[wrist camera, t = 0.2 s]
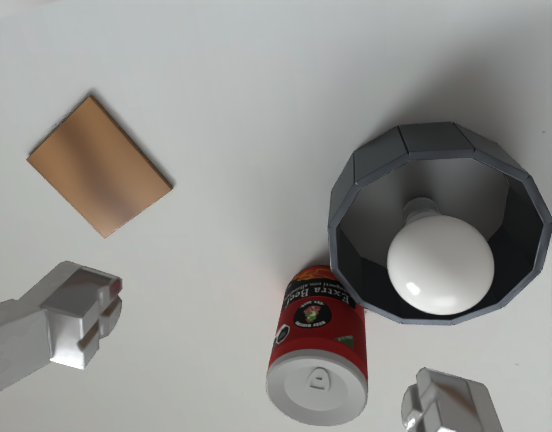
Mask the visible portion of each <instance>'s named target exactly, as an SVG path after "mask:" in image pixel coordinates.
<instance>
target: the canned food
mask: <svg viewBox="0 0 552 432" xmlns="http://www.w3.org/2000/svg"><path fill="white" fill-rule="evenodd" d="M266 392H267V395H268V398H269V399H270V401H271V403H272V404H273V405H274V406H275V407H276V408H277V409H278V410H279V411H280V412H281V413H283V414H284V415H286V416H287V417H289V418H291V419H293V420H295V421H298V422H300V423H304V424H307V425H313V426H336V425H340V424H344V423H347V422H349V421H351V420H353V419H354V418H356V417H357V416H359V415H360V413H361V412H362V411H363V410H364V408H365V406H366V404H367V397H368V395H367V394H368V371H367V353H366V335H365V317H364V307H362V306H360V305H358V304H357V303H356V302H355V301H354V299H353V298H352V297H351V296H350V294H349V293H348V292H347V290H346V289H345V288H344V287H343V285H342V284H341V283H340V281H339V280H338V279H337V278H336V276H335V275H334V274H333V273H332V271H331V269H330V266H314V267H310V268H307V269H305V270H303V271H301V272H300V273H298V274H297V275H296V276H295V277H294V278H293V279H292V281H291V282H290V283H289V285H288V287H287V289H286V292H285V296H284V300H283V305H282V309H281V313H280V318H279V322H278V326H277V331H276V335H275V340H274V344H273V348H272V353H271V357H270V361H269V366H268V371H267V376H266Z"/></svg>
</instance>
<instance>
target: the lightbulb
mask: <svg viewBox="0 0 552 432" xmlns="http://www.w3.org/2000/svg"><path fill="white" fill-rule="evenodd" d="M403 217H404V220H405V224H406V225H405V227H403V228H402V229H401V230H400V231H399V232H398V233H397V235H396V236H395V238H394V239H393V241H392V243H391V245H390V248H389V251H388V256H387V269H388V274H389V278H390V280H391V283H392V285H393V286H394V288H395V290H396V291H397V293H398V294H399V295H400V296H401V297H402V298H403V299H404V300H405V301H406V302H407V303H409V304H410V305H412V306H413V307H415V308H417V309H419V310H421V311H424V312H427V313H431V314H437V315H450V314H456V313H460V312H463V311H465V310H468V309H469V308H471V307H473V306H474V305H476V304H477V303H478V302H479V301H480V300H481V299H482V298H483V297H484V296H485V295H486V293H487V292H488V290H489V288H490V286H491V284H492V281H493V277H494V269H495V268H494V258H493V254H492V251H491V249H490V246H489V244H488V243H487V241H486V240H485V238H484V237H483V236H482V235H481V233H480V232H479V231H478V230H476V229H475V228H474V227H473V226H471V225H470V224H468V223H466V222H464V221H462V220H460V219H457V218H454V217H450V216H444V215H441V214H440V212H439V210H438V207H437V205H436V204H435V202H434V201H432V200H431V199H428V198H424V197H420V198H415V199H413V200H411V201H409V202H408V203H407V204H406V206H405V207H404V210H403Z"/></svg>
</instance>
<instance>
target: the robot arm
mask: <svg viewBox="0 0 552 432" xmlns="http://www.w3.org/2000/svg"><path fill="white" fill-rule="evenodd" d="M121 290H122V279H121V278H120V277H117V276H114V275H111V274H108V273H105V272H102V271H99V270H96V269H93V268H89V267H86V266H82V265H79V264H76V263H73V262H70V261H64V262H61V263H59V264H58V265H57V266H56V267H55V268H54V269H53V270H51V271H50V272H49V273H48V274H47V275H46V276H45V277H44V278H42V279H41V280H40V281H39V282H38V283H37V284H36V285H34V286H33V287H32V288H31V289H30V290H29V291H28V292H27V293H25V294H24V295H23V296H22V297H21V298H20V299H19V300H14V299H10V300H7V301H4V302H1V303H0V391H2V390H3V389H5V388H7V387H9V386H10V385H12V384H14V383H16V382H17V381H19V380H21V379H23V378H24V377H26V376H28V375H30V374H31V373H33V372H35V371H37V370H38V369H40V368H42V367H44V366H45V365H47V364H49V363H50V362H51V361H55V362H59V363H62V364H66V365H70V366H73V367H77V368H81V369H84V368H85V367H86V366H87V364H88V363H89V362H90V360H91V359H92V357H93V356H94V355H95V353H96V352H97V351H98V349H99V339H101V338H104V337H106V336H108V335H109V334H110V333H111V331H112V330H113V329H114V327H115V325H116V323H117V321H118V319H119V317H120V313H121V309H122V300H121V299H120V297H119V296H118V293H119V292H120V291H121ZM416 379H417V383H416V384H414V385H411V386H409V387H408V389H407V391H406V392H405V394H404V397H403V401H402V409H401V415H402V424H403V425H404V426H405V428H406V429H407V431H408V432H503V430H502V427H501V424H500V421H499V419H498V416H497V413H496V411H495V408H494V405H493V403H492V400H491V397H490V394H489V392H488V389H487V388H486V386H485V385H484V384H482V383H479V382H475V381H472V380H468V379H465V378H461V377H458V376H454V375H451V374H447V373H444V372H440V371H437V370H433V369H430V368H426V367H424V368H422V369H420V371H419V372H418V374H417V375H416Z"/></svg>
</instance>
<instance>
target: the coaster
mask: <svg viewBox="0 0 552 432" xmlns="http://www.w3.org/2000/svg"><path fill="white" fill-rule="evenodd" d="M26 160H27V161H28V162H29V163H30V164H31V165H32V166H33V167H34V168H35V169H36V170H37V171H38V172H39V173H40V174H41V175H42V176H43V177H44V178H45V179H46V180H47V181H48V182H49V183H50V184H51V185H52V186H53V187H54V188H55V189H56V190H57V191H58V192H59V193H60V194H61V195H62V196H63V197H64V198H65V199H66V200H67V201H68V202H69V203H70V204H71V205H72V206H73V207H74V208H75V209H76V210H77V211H78V212H79V213H80V214H81V215H82V216H83V217H84V218H85V219H86V220H87V221H88V222H89V223H90V224H91V225H92V226H93V227H94V228H95V229H96V230H97V231H98V232H99V233H100V234H101V235H102V236H103V237H104V238H106V237H107V236H109V235H110V234H111V233H113V232H114V231H116V230H117V229H118V228H120V227H121V226H123V225H124V224H125V223H127V222H128V221H129V220H131V219H132V218H134V217H135V216H136V215H138V214H139V213H141V212H142V211H143V210H145V209H146V208H147V207H149V206H150V205H152V204H153V203H154V202H156V201H157V200H159V199H160V198H161V197H163V196H164V195H165V194H167V193H168V192H170V191H171V190H172V189H173V187H172V186H171V185H170V184H169V183H168V182H167V181H166V179H165V178H164V177H163V176H162V175H161V174H160V173H159V171H158V170H157V169H156V168H155V167H154V166H153V165H152V163H151V162H150V161H149V160H148V159H147V158H146V157H145V155H144V154H143V153H142V152H141V151H140V150H139V149H138V147H137V146H136V145H135V144H134V143H133V142H132V141H131V139H130V138H129V137H128V136H127V135H126V134H125V133H124V132H123V130H122V129H121V128H120V127H119V126H118V125H117V124H116V122H115V121H114V120H113V119H112V118H111V117H110V116H109V114H108V113H107V112H106V111H105V110H104V109H103V108H102V106H101V105H100V104H99V103H98V102H97V101H96V100H95V98H94V97H93V96H89V97H88V98H87V99H86V100H85V101H84V102H83V103H82V104H81V105H80V106H79V107H78V108H77V109H76V110H75V111H74V112H73V113H72V114H71V115H70V116H69V117H68V118H67V119H66V120H65V121H64V122H63V123H62V124H61V125H60V126H59V127H58V128H57V129H56V130H55V131H54V132H53V133H52V134H51V135H50V136H49V137H48V138H47V139H46V140H45V141H44V142H43V143H42V144H41V145H40V146H39V147H38V148H37V149H36V150H35V151H34V152H33V153H32V154H31V155H30V156H29V157H28V158H27V159H26Z"/></svg>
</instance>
